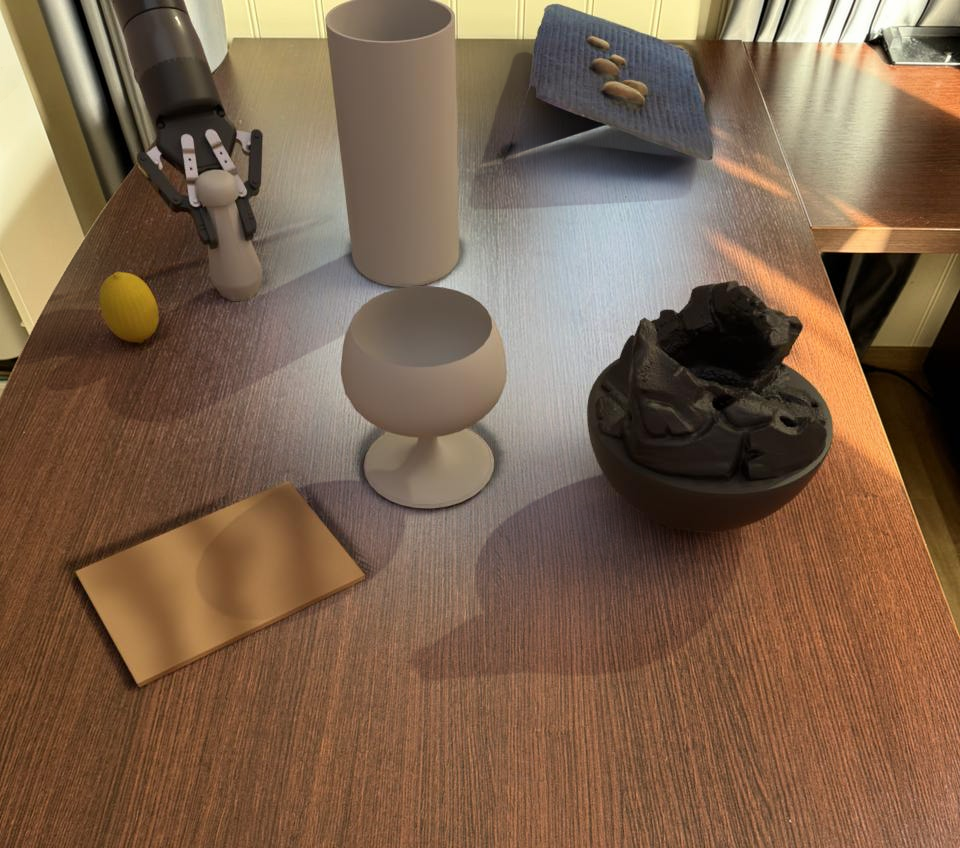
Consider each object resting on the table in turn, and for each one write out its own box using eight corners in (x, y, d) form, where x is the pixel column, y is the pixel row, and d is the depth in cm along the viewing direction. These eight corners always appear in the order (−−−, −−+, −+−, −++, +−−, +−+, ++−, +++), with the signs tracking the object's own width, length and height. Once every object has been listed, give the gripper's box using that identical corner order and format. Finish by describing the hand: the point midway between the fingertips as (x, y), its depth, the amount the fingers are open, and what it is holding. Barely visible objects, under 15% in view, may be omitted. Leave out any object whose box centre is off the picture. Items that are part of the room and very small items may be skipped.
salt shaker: (275, 284, 106) (254, 169, 96) (247, 310, 103) (222, 194, 92) (232, 273, 107) (207, 158, 97) (203, 298, 104) (174, 182, 94)
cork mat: (139, 688, 71) (136, 683, 71) (77, 575, 78) (74, 571, 78) (365, 579, 78) (365, 574, 78) (289, 485, 85) (288, 480, 85)
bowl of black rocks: (808, 451, 88) (874, 266, 73) (790, 604, 76) (865, 421, 62) (602, 413, 92) (626, 229, 77) (554, 554, 80) (571, 369, 65)
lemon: (126, 364, 96) (101, 294, 90) (105, 339, 99) (80, 269, 93) (175, 345, 98) (155, 276, 92) (154, 321, 101) (132, 252, 95)
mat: (514, 62, 151) (537, -19, 142) (669, 117, 155) (700, 42, 147) (500, 175, 121) (528, 81, 112) (693, 239, 125) (734, 154, 117)
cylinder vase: (459, 290, 105) (454, 42, 85) (349, 290, 105) (319, 42, 85) (459, 233, 113) (455, -6, 93) (357, 233, 113) (331, -6, 93)
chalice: (338, 510, 83) (316, 368, 71) (371, 412, 92) (356, 271, 80) (493, 526, 82) (496, 385, 70) (512, 425, 90) (517, 284, 79)
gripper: (101, 67, 90) (166, 245, 93) (242, 42, 94) (300, 214, 97) (107, 104, 97) (167, 269, 100) (237, 80, 101) (291, 239, 104)
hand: (232, 241), depth 98 cm, fingers closed on salt shaker, 3 cm apart
